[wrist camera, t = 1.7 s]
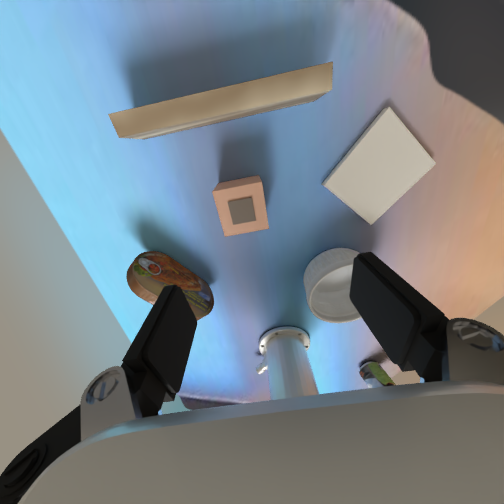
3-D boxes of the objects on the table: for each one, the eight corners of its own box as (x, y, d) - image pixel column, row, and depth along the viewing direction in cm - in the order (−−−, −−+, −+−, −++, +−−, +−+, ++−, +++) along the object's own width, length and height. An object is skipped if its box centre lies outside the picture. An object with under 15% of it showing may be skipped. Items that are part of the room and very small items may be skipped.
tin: (217, 289, 37) (210, 324, 30) (207, 297, 38) (198, 333, 31) (150, 242, 31) (122, 271, 24) (140, 253, 32) (110, 284, 25)
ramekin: (341, 302, 40) (359, 330, 34) (286, 288, 38) (294, 316, 32) (381, 252, 34) (410, 275, 28) (318, 232, 32) (335, 252, 26)
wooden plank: (313, 101, 23) (331, 89, 18) (144, 139, 24) (119, 137, 19) (313, 80, 22) (332, 61, 17) (136, 120, 23) (108, 114, 18)
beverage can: (354, 363, 52) (382, 416, 42) (381, 355, 51) (416, 409, 40) (358, 373, 55) (385, 426, 45) (384, 366, 54) (417, 419, 43)
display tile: (367, 222, 31) (371, 225, 30) (321, 184, 28) (323, 185, 27) (429, 162, 27) (436, 163, 26) (383, 108, 23) (389, 106, 22)
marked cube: (264, 214, 30) (269, 229, 24) (228, 221, 30) (224, 237, 25) (258, 174, 27) (262, 182, 21) (218, 182, 27) (211, 192, 22)
